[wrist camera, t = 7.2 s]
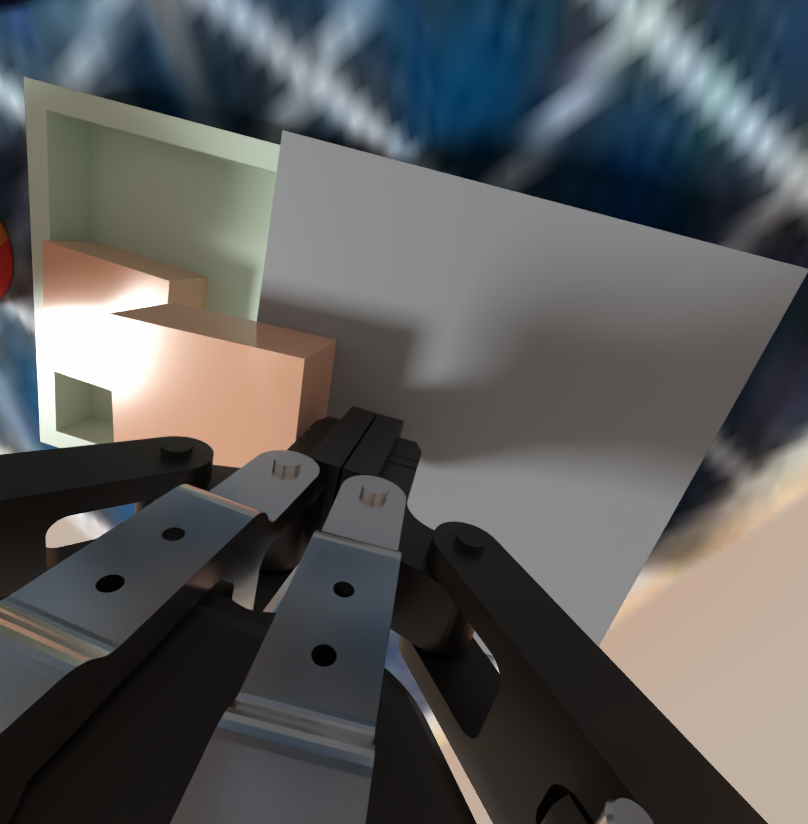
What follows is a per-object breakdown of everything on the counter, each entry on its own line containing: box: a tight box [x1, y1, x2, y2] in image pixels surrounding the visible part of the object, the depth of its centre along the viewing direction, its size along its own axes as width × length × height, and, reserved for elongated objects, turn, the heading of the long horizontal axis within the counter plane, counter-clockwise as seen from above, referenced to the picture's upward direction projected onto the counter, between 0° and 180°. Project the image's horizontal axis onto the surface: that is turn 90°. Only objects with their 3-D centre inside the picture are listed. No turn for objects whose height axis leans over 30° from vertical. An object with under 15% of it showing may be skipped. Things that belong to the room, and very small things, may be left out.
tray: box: [24, 77, 280, 448], centre depth 19 cm, size 14×10×2 cm
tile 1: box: [43, 240, 209, 391], centre depth 18 cm, size 5×5×2 cm
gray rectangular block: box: [257, 130, 808, 656], centre depth 16 cm, size 14×13×6 cm
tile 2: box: [108, 303, 337, 468], centre depth 13 cm, size 5×5×2 cm
